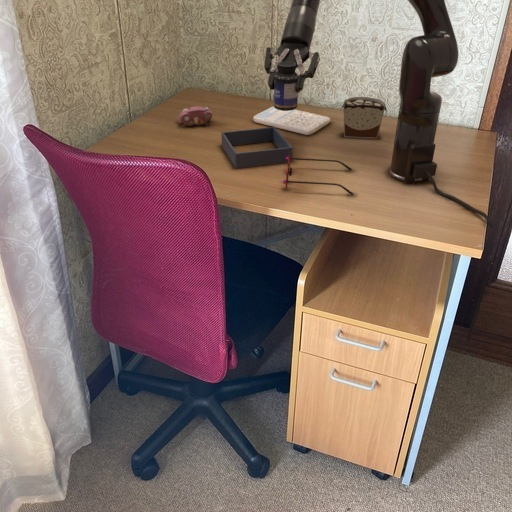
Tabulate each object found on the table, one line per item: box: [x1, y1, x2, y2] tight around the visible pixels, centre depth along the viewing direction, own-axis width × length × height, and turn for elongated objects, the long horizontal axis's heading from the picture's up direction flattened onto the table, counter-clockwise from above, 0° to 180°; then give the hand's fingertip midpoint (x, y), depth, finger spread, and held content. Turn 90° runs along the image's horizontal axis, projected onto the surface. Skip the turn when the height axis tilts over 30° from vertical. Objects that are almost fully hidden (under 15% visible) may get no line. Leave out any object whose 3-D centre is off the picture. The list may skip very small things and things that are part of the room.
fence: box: [221, 126, 293, 169], centre depth 151 cm, size 15×15×4 cm
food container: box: [341, 96, 387, 140], centre depth 162 cm, size 12×6×10 cm, turn 84°
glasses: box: [282, 153, 354, 196], centre depth 138 cm, size 14×16×5 cm
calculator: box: [252, 105, 331, 136], centre depth 171 cm, size 13×20×2 cm, turn 56°
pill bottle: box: [273, 61, 299, 111], centre depth 143 cm, size 6×6×11 cm
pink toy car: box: [178, 105, 213, 127], centre depth 168 cm, size 10×5×7 cm, turn 105°
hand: (284, 89), depth 142 cm, fingers closed on pill bottle, 6 cm apart
